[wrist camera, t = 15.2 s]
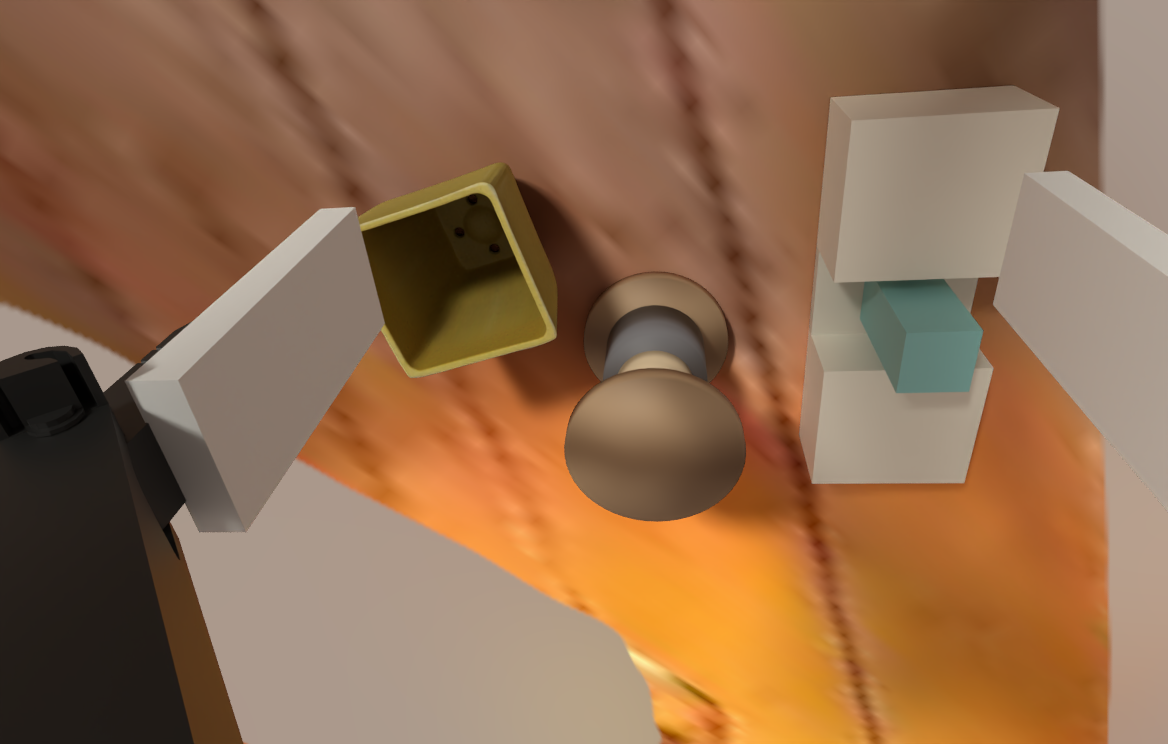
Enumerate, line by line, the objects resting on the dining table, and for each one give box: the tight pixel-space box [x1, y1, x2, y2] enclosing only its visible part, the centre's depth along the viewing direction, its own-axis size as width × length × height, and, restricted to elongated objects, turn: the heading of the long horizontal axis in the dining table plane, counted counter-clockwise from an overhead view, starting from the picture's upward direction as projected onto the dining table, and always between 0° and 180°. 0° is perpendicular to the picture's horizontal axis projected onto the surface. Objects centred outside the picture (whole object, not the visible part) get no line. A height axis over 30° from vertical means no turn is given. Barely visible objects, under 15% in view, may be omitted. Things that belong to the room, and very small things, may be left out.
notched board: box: [799, 85, 1060, 484], centre depth 41 cm, size 22×9×5 cm, turn 5°
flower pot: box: [358, 163, 558, 378], centre depth 40 cm, size 9×9×9 cm
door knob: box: [564, 272, 746, 521], centre depth 41 cm, size 9×9×12 cm
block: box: [860, 279, 983, 393], centre depth 39 cm, size 4×4×8 cm
